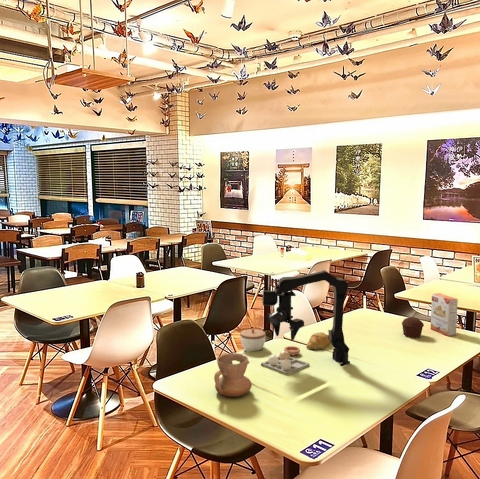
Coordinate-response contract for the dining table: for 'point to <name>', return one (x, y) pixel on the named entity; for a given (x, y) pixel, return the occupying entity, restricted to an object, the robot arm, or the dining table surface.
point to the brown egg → (284, 355)
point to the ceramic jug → (232, 375)
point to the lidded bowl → (252, 339)
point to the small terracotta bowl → (292, 350)
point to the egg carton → (295, 367)
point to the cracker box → (444, 314)
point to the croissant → (318, 341)
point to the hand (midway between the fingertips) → (284, 338)
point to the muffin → (412, 327)
